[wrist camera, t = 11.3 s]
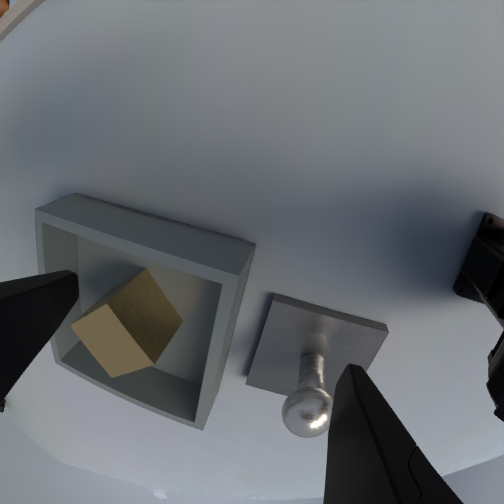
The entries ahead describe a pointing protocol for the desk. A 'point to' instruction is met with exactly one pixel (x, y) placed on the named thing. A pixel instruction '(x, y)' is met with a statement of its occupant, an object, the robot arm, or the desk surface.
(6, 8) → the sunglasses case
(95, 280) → the bin
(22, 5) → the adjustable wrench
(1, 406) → the cable
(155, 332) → the wooden block
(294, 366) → the metal ball pedestal
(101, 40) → the desk surface
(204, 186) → the desk surface
